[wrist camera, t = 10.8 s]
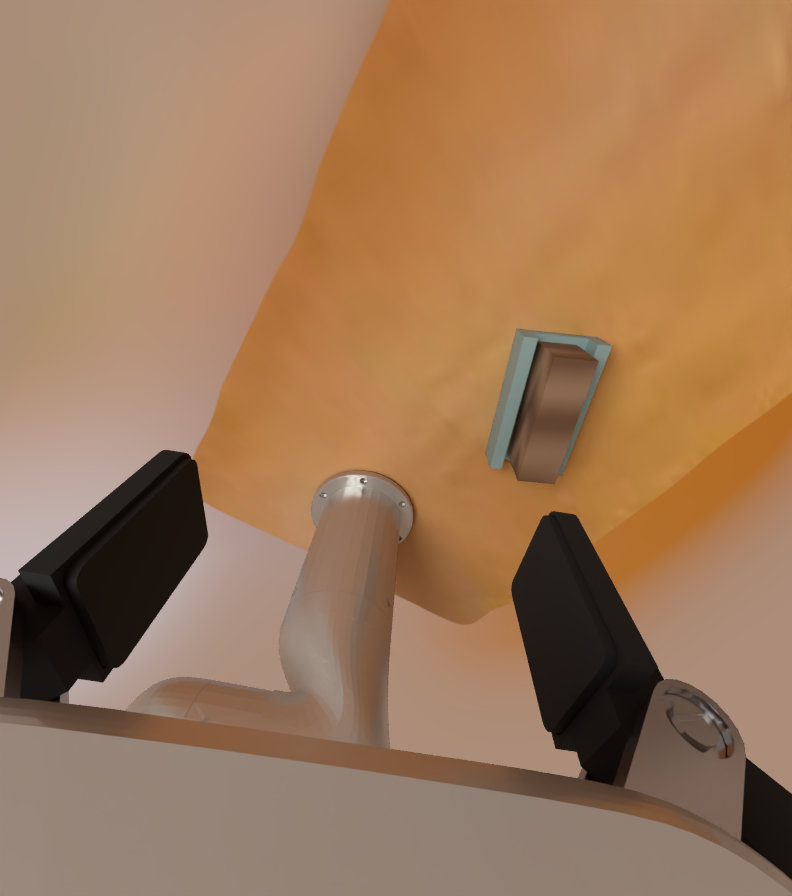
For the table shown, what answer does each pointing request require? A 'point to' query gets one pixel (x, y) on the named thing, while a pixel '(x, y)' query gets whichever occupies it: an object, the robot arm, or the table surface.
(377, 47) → the table surface
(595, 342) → the grey-blue channel block
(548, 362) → the walnut strip
